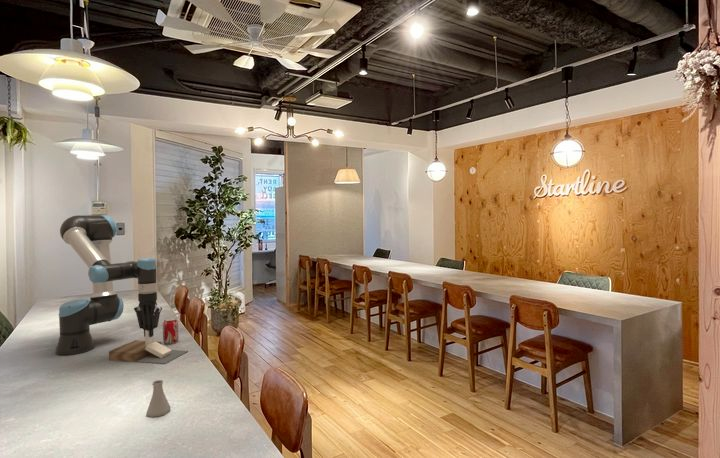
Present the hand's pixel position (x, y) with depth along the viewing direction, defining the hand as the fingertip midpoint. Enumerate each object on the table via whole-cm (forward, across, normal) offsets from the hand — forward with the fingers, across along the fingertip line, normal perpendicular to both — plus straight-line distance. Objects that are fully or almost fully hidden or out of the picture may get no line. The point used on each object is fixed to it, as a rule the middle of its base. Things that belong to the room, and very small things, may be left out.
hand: (149, 343), depth 182 cm
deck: (+6, -7, 0) cm, 9 cm away
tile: (+4, +4, 0) cm, 6 cm away
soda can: (+6, -3, +19) cm, 20 cm away
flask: (+6, +40, -46) cm, 61 cm away
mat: (+6, +7, 0) cm, 9 cm away
